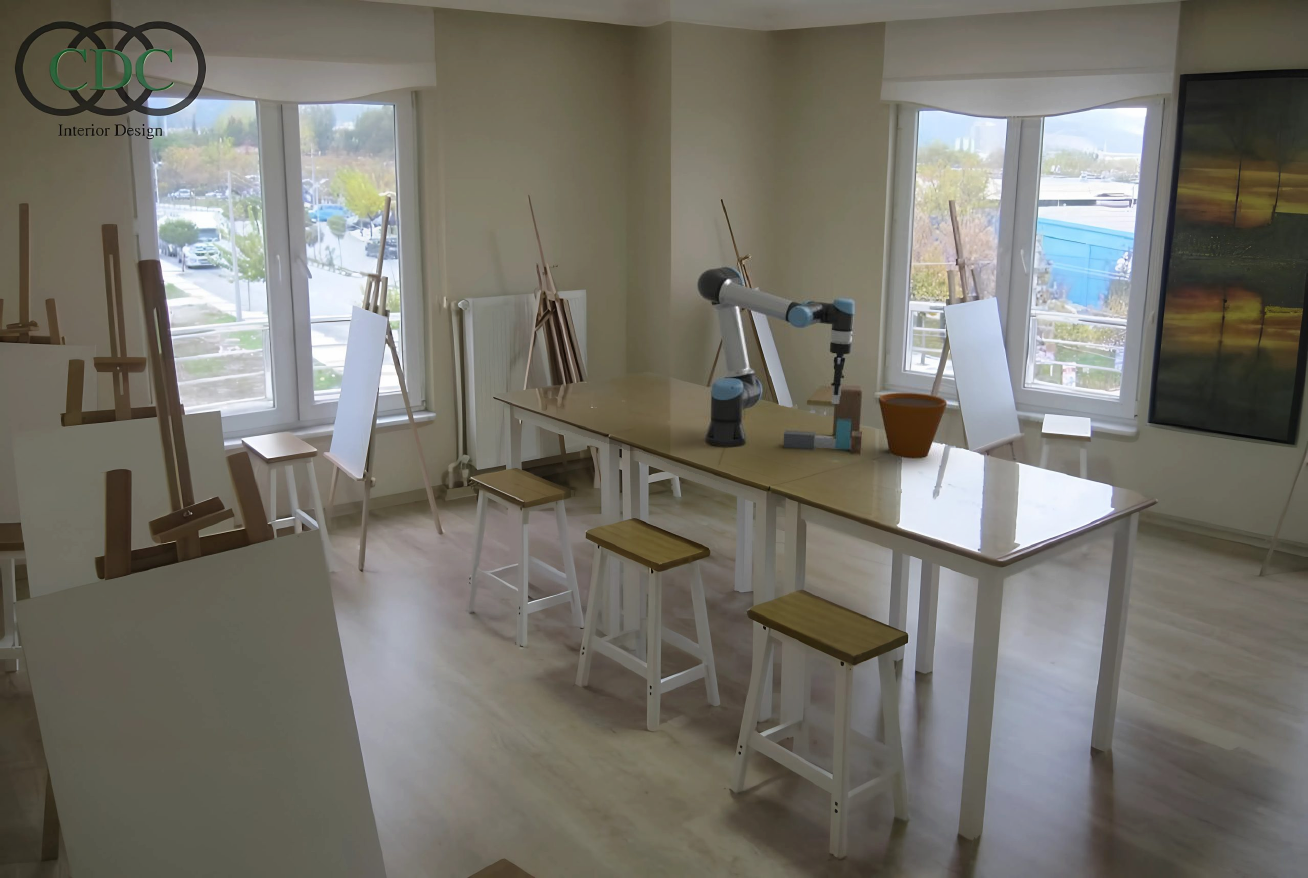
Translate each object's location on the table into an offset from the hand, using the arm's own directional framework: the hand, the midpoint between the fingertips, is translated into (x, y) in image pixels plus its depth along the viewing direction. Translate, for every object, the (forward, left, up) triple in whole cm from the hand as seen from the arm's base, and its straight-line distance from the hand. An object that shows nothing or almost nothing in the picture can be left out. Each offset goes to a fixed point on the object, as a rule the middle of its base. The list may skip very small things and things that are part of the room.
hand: (836, 399), depth 382 cm
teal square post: (0, -1, -18) cm, 18 cm away
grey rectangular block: (-13, -1, -19) cm, 22 cm away
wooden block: (+4, +18, -19) cm, 26 cm away
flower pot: (+27, +1, -19) cm, 33 cm away
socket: (+8, -1, -19) cm, 20 cm away
